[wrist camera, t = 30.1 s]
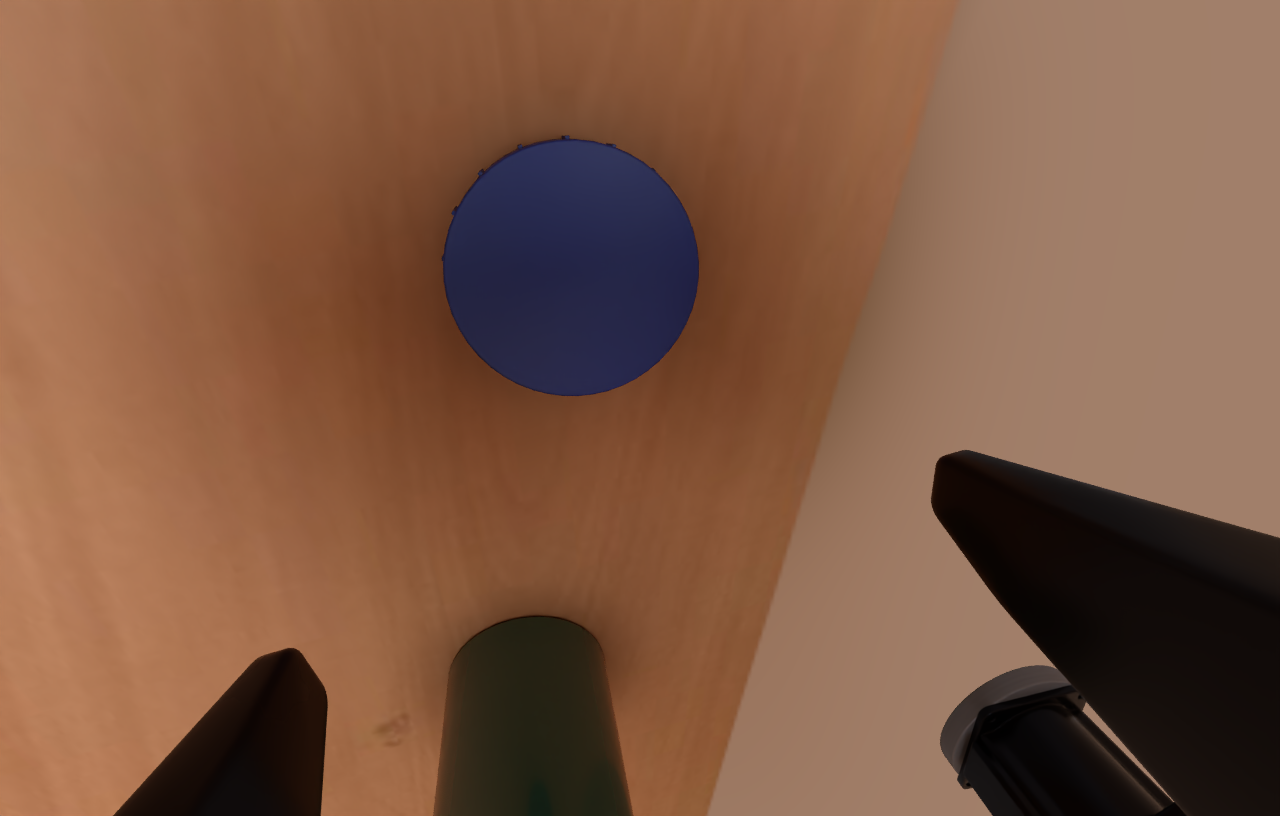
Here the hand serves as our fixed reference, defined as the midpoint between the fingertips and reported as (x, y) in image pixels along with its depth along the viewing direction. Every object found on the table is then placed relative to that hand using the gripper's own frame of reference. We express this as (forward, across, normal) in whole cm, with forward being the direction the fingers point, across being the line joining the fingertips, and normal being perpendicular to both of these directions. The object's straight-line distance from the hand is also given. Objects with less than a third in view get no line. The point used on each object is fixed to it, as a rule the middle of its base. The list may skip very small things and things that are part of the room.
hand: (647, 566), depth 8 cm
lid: (+10, -1, -1) cm, 10 cm away
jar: (+11, +4, +15) cm, 19 cm away
